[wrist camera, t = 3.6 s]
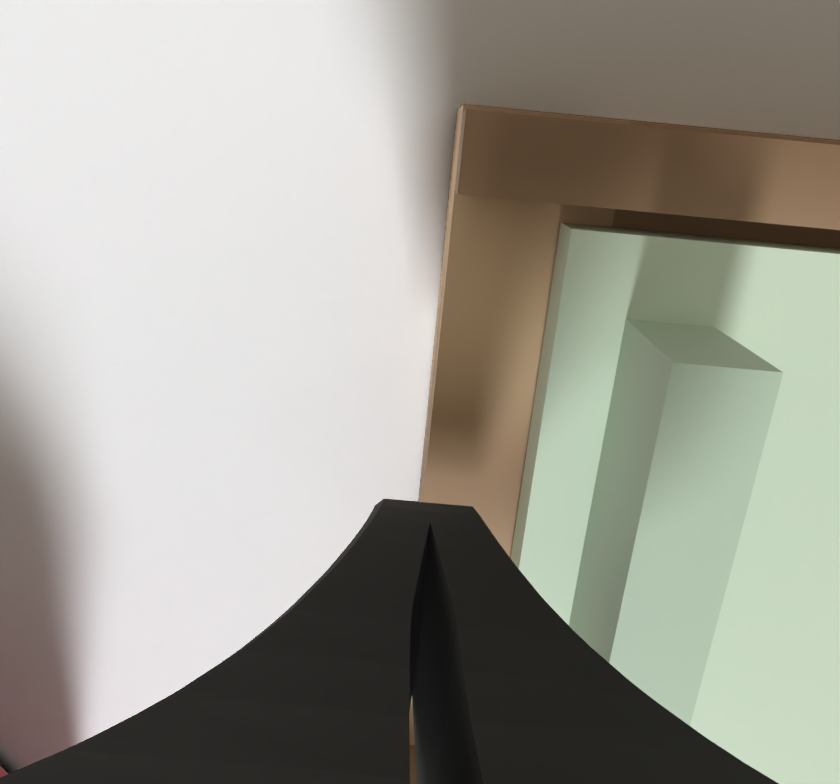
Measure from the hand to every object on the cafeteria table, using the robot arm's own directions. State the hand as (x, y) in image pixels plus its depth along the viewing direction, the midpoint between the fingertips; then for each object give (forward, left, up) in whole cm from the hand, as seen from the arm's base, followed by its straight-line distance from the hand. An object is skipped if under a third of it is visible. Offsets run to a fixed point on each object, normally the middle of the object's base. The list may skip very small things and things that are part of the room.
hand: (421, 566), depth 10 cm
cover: (0, -5, -2) cm, 6 cm away
